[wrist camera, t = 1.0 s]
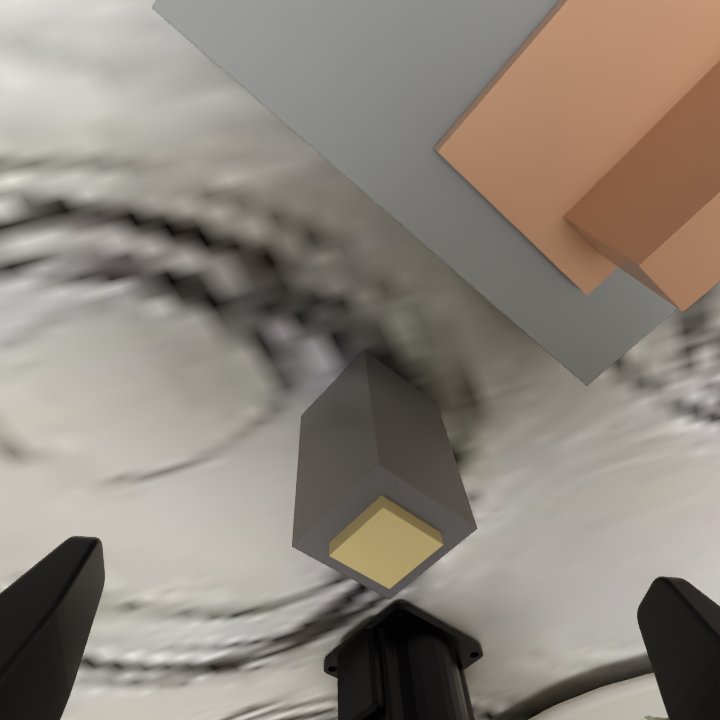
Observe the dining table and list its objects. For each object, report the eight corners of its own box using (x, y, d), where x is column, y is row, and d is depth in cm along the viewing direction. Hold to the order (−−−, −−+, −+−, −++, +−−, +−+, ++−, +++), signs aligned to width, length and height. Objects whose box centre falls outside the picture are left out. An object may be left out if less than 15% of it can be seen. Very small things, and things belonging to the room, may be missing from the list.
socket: (830, 69, 18) (956, 71, 14) (544, 333, 21) (586, 385, 18) (490, -471, 12) (558, -692, 8) (189, 19, 16) (151, 8, 12)
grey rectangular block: (436, 403, 23) (481, 540, 16) (373, 462, 24) (391, 612, 18) (364, 349, 21) (380, 476, 15) (301, 415, 23) (291, 559, 16)
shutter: (831, 51, 14) (1046, 47, 10) (578, 288, 16) (662, 363, 12) (699, -164, 11) (902, -286, 7) (433, 148, 14) (476, 182, 10)
